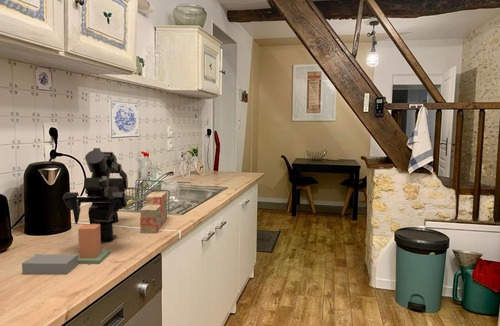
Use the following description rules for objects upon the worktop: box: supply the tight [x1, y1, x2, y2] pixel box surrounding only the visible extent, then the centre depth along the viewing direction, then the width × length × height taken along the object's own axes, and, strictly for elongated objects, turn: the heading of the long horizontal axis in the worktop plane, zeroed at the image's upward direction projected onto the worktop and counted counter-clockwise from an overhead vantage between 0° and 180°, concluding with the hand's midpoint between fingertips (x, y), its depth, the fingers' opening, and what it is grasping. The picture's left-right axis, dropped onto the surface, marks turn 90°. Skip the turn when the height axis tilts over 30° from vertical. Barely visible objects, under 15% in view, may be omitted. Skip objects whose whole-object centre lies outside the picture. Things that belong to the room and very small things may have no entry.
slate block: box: [21, 253, 79, 275], centre depth 102 cm, size 7×12×3 cm, turn 91°
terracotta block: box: [77, 223, 102, 258], centre depth 110 cm, size 5×5×9 cm
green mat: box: [76, 249, 112, 265], centre depth 111 cm, size 9×9×1 cm
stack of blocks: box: [139, 191, 168, 234], centre depth 146 cm, size 21×6×12 cm, turn 3°
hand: (91, 222), depth 112 cm, fingers open, 9 cm apart
